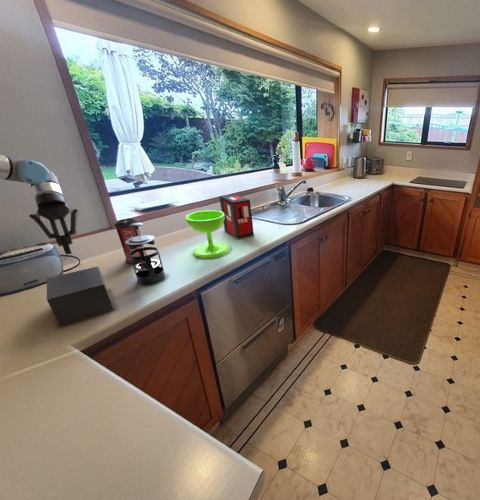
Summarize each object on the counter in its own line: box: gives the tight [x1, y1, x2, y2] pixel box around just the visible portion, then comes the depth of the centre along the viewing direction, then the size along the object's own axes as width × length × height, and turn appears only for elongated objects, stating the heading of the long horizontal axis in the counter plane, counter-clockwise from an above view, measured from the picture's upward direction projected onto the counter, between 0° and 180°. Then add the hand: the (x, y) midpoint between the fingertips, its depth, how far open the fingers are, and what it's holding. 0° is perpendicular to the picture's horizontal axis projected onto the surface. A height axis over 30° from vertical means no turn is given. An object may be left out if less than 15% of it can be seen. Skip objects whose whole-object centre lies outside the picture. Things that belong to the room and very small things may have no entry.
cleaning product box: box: [218, 193, 255, 240], centre depth 153 cm, size 16×9×20 cm, turn 46°
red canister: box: [114, 218, 148, 264], centre depth 121 cm, size 8×8×18 cm
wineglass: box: [185, 209, 231, 259], centre depth 131 cm, size 16×16×18 cm
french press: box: [125, 222, 167, 286], centre depth 106 cm, size 12×9×23 cm
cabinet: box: [46, 266, 115, 327], centre depth 91 cm, size 16×13×10 cm
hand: (68, 252), depth 101 cm, fingers closed
